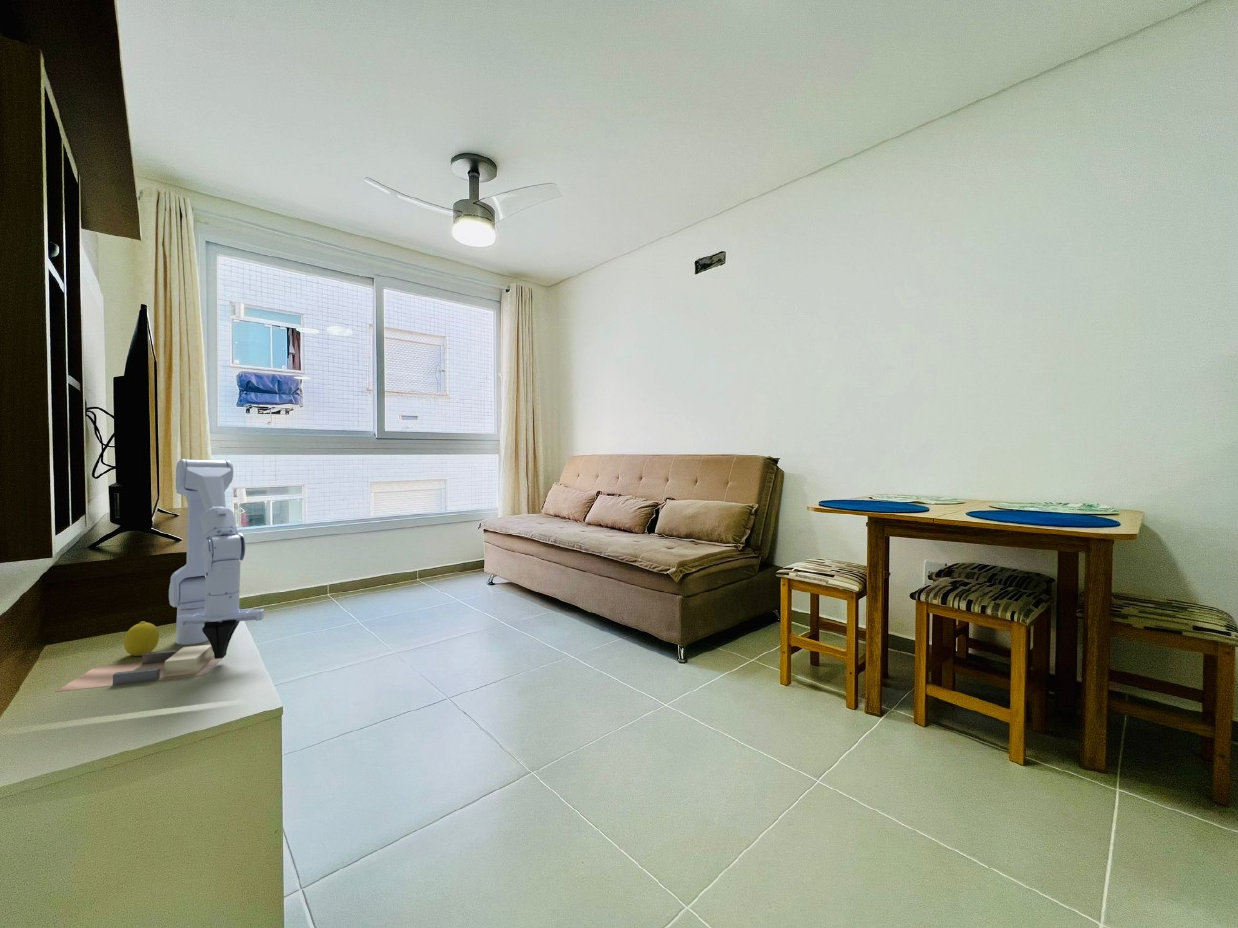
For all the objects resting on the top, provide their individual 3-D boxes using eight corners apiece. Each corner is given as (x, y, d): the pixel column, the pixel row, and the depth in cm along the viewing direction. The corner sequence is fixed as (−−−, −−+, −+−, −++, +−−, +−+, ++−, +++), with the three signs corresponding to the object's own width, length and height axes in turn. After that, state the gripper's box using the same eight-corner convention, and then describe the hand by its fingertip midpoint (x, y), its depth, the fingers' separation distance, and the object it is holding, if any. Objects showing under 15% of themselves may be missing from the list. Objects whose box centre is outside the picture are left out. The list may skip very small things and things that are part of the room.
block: (183, 661, 106) (183, 647, 106) (212, 658, 108) (212, 644, 108) (164, 676, 98) (164, 661, 98) (195, 673, 100) (196, 658, 100)
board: (94, 671, 102) (94, 667, 102) (226, 658, 110) (226, 654, 110) (54, 695, 91) (55, 691, 91) (204, 679, 99) (204, 675, 99)
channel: (144, 662, 105) (145, 652, 105) (183, 658, 107) (184, 649, 107) (112, 685, 94) (112, 674, 94) (156, 680, 96) (156, 670, 96)
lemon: (136, 663, 106) (137, 626, 106) (116, 661, 107) (117, 623, 107) (165, 654, 111) (166, 618, 111) (145, 652, 112) (146, 616, 112)
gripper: (170, 599, 98) (167, 668, 98) (258, 594, 104) (256, 659, 104) (185, 591, 105) (183, 655, 105) (267, 586, 110) (265, 647, 110)
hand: (220, 656), depth 105 cm, fingers closed
